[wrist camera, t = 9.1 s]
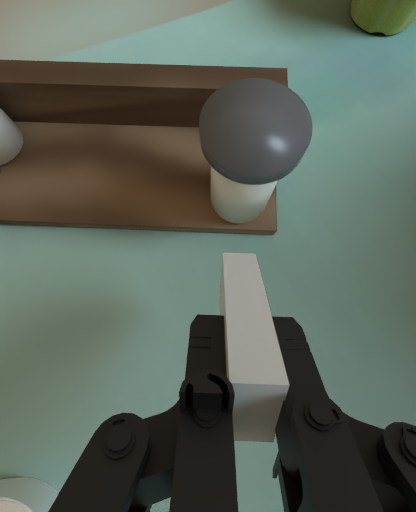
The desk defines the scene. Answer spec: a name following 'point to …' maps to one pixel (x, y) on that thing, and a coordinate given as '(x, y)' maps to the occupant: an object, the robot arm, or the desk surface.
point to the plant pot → (383, 15)
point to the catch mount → (115, 146)
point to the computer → (25, 495)
